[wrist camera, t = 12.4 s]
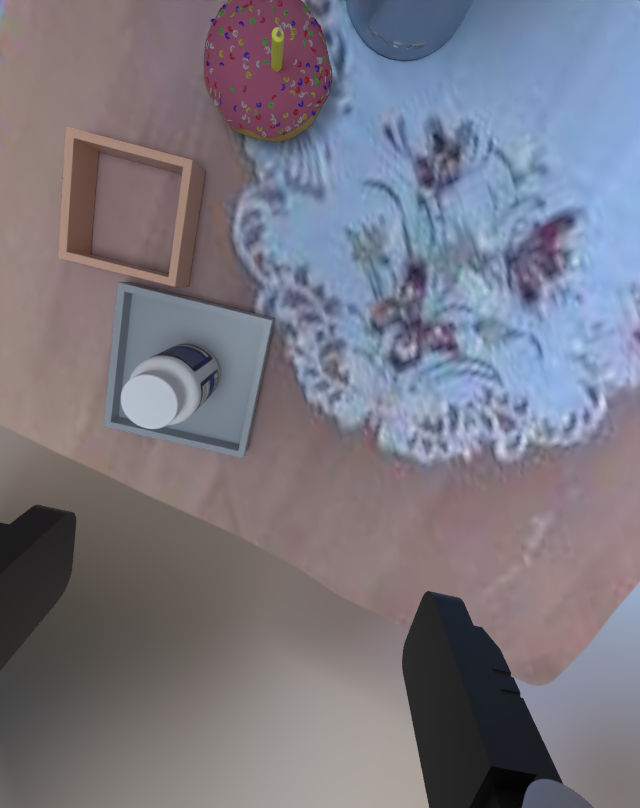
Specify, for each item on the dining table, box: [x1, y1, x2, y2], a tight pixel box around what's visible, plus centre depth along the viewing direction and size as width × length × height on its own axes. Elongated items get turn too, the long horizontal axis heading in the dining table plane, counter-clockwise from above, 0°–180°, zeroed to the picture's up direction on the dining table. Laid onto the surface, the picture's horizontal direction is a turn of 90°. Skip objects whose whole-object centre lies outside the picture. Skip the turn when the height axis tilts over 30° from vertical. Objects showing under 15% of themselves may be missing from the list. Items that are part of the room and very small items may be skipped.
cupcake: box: [204, 0, 332, 142], centre depth 27 cm, size 9×8×12 cm
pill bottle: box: [121, 343, 220, 429], centre depth 34 cm, size 5×5×10 cm
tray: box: [104, 282, 275, 458], centre depth 38 cm, size 13×13×2 cm
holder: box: [58, 127, 205, 287], centre depth 33 cm, size 9×9×4 cm
